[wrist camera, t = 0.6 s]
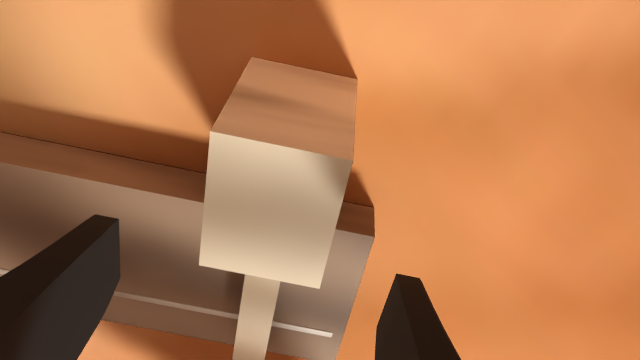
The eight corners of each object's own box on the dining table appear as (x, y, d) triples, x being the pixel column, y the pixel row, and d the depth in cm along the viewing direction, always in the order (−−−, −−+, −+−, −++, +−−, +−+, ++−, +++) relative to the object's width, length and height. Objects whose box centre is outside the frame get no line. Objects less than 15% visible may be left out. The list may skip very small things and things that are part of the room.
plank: (336, 331, 27) (333, 364, 25) (-98, 247, 26) (-131, 276, 24) (374, 207, 23) (374, 237, 21) (-146, 102, 22) (-189, 124, 20)
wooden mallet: (299, 316, 27) (283, 427, 22) (221, 301, 26) (186, 409, 21) (357, 79, 20) (353, 160, 15) (251, 56, 19) (210, 131, 14)
